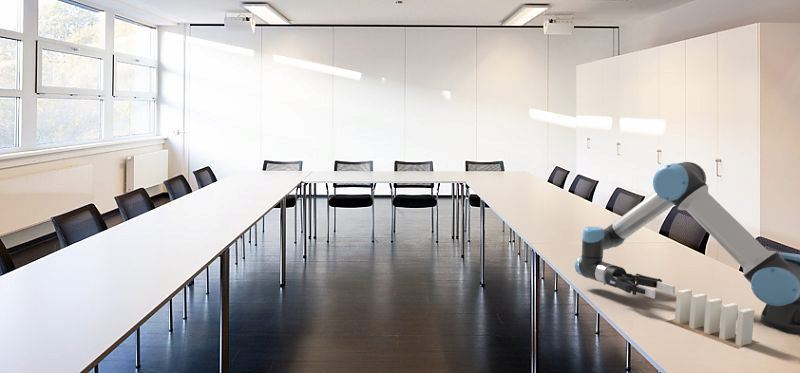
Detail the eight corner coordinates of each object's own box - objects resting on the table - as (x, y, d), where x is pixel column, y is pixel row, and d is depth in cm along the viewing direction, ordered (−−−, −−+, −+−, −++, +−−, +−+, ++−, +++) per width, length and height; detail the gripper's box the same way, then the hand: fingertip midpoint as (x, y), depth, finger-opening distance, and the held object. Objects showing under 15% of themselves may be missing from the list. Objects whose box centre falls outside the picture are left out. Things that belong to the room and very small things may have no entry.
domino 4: (719, 338, 173) (721, 305, 172) (729, 335, 175) (732, 302, 174) (724, 339, 171) (726, 307, 170) (735, 337, 174) (737, 304, 172)
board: (686, 318, 191) (686, 316, 191) (759, 344, 170) (759, 342, 170) (665, 323, 187) (665, 321, 187) (737, 350, 165) (737, 348, 165)
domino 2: (689, 326, 182) (691, 295, 180) (699, 324, 184) (702, 293, 183) (693, 328, 180) (695, 297, 179) (704, 325, 183) (706, 294, 181)
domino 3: (703, 332, 177) (706, 300, 176) (714, 329, 180) (716, 298, 178) (708, 334, 176) (711, 302, 175) (719, 331, 178) (721, 299, 177)
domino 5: (735, 344, 168) (738, 310, 167) (746, 341, 171) (749, 308, 169) (740, 346, 167) (743, 312, 166) (751, 342, 169) (754, 309, 168)
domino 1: (674, 321, 186) (677, 291, 185) (685, 319, 188) (687, 289, 187) (679, 323, 185) (681, 292, 183) (689, 320, 187) (692, 290, 186)
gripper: (631, 281, 217) (685, 298, 197) (588, 289, 208) (640, 308, 188) (633, 261, 216) (687, 277, 196) (589, 268, 207) (642, 285, 187)
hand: (664, 292), depth 192 cm, fingers open, 9 cm apart
